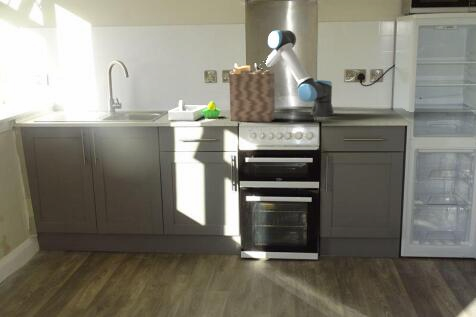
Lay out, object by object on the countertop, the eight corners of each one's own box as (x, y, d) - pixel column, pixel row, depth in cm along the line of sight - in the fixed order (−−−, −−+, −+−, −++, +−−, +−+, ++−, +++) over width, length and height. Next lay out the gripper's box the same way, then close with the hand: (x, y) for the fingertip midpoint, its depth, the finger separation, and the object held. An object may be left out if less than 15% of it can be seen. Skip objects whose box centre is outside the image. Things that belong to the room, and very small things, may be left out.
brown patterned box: (274, 118, 334) (274, 69, 327) (270, 121, 321) (269, 71, 313) (236, 117, 341) (235, 69, 334) (230, 120, 328) (229, 71, 320)
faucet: (188, 114, 336) (186, 93, 348) (173, 119, 337) (171, 98, 350) (196, 127, 347) (193, 107, 359) (181, 132, 348) (179, 111, 361)
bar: (250, 71, 340) (250, 65, 339) (240, 73, 318) (240, 68, 317) (245, 71, 341) (245, 65, 340) (235, 74, 319) (235, 68, 318)
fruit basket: (218, 116, 349) (217, 99, 347) (221, 118, 341) (220, 101, 338) (201, 117, 346) (201, 100, 344) (204, 119, 338) (204, 102, 335)
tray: (207, 114, 358) (207, 105, 357) (193, 120, 331) (193, 111, 330) (184, 113, 363) (184, 105, 361) (168, 120, 336) (168, 111, 335)
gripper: (269, 84, 349) (263, 70, 329) (234, 83, 356) (226, 70, 336) (270, 74, 351) (264, 59, 331) (235, 74, 358) (227, 60, 338)
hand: (245, 65), depth 334 cm, fingers open, 13 cm apart
